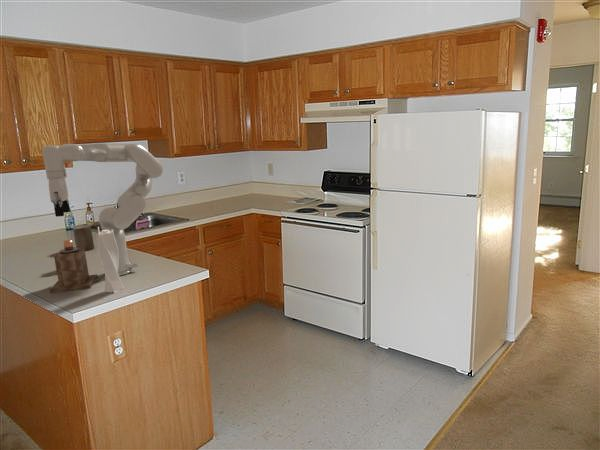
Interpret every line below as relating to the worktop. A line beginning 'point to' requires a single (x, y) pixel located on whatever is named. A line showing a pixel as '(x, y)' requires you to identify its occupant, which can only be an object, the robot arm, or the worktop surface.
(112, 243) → the skyscraper
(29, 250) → the worktop surface
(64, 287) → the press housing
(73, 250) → the plunger
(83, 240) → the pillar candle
